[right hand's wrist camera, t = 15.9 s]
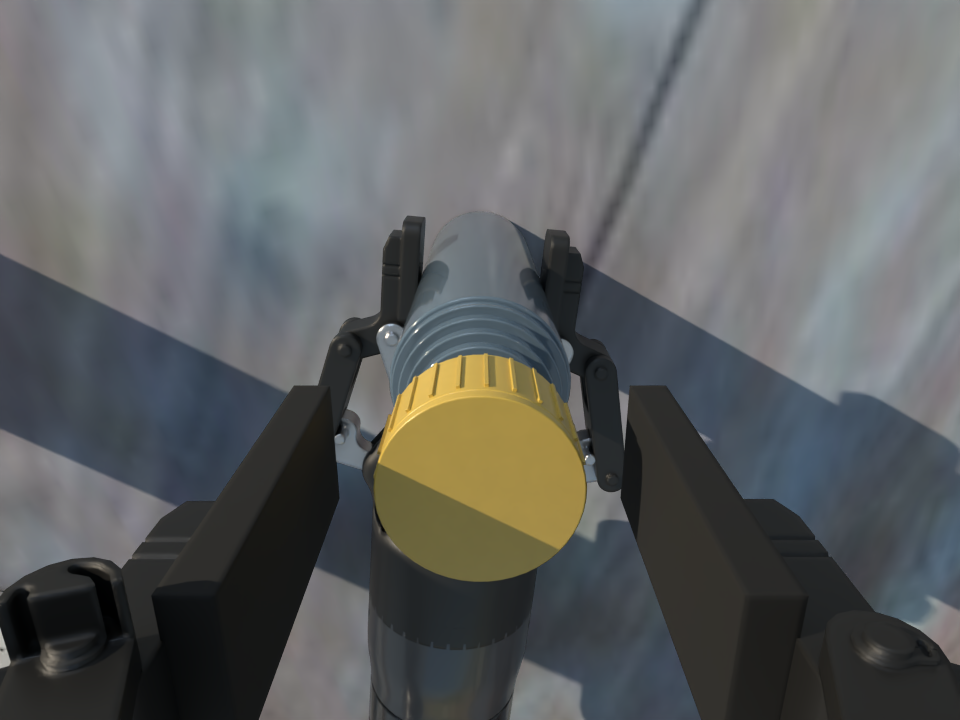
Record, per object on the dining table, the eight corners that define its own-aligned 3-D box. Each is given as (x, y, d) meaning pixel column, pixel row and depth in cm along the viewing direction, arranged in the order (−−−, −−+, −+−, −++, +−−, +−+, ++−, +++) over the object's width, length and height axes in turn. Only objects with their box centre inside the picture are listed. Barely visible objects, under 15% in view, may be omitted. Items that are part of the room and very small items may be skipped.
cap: (469, 312, 14) (467, 348, 12) (612, 430, 15) (635, 484, 13) (348, 448, 15) (326, 503, 13) (489, 550, 16) (490, 619, 14)
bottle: (546, 283, 33) (640, 527, 13) (458, 325, 33) (429, 613, 14) (503, 193, 31) (540, 321, 12) (412, 239, 32) (310, 430, 13)
